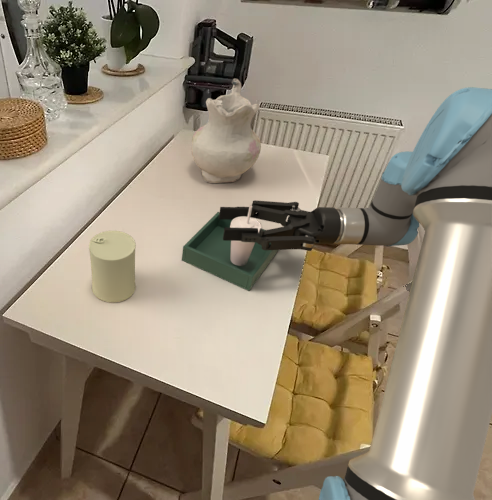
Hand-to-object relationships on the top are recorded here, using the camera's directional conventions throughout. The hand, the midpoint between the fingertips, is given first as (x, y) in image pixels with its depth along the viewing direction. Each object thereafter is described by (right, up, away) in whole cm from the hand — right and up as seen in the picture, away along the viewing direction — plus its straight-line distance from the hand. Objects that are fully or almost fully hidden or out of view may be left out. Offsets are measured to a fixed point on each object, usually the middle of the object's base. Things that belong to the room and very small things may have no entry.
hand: (221, 223), depth 88 cm
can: (-22, -13, +3) cm, 26 cm away
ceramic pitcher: (+7, +18, +40) cm, 45 cm away
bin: (+4, -7, +11) cm, 13 cm away
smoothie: (+5, -8, +7) cm, 11 cm away
